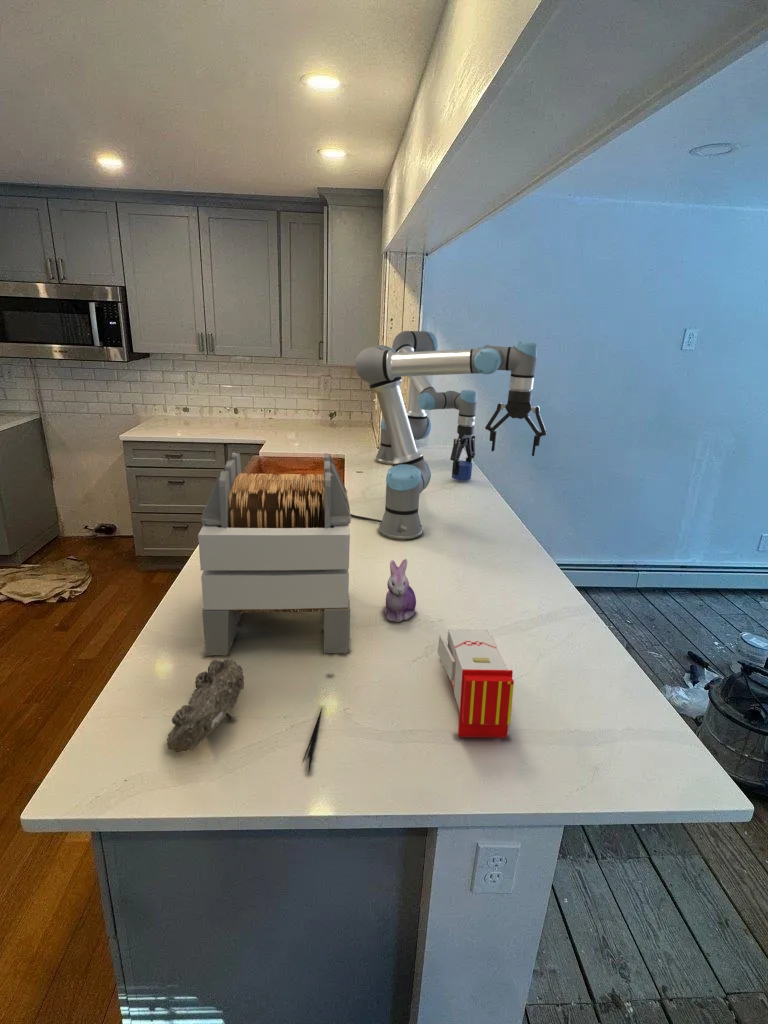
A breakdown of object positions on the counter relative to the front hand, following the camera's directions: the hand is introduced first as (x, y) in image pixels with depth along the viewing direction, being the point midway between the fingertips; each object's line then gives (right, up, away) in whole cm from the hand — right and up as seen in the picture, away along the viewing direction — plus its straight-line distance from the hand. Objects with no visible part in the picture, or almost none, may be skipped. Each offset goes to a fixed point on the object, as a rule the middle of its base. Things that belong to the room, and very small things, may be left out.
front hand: (512, 452), depth 194 cm
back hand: (-8, -2, +70) cm, 71 cm away
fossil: (-77, -59, -86) cm, 130 cm away
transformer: (-70, -47, -51) cm, 99 cm away
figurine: (-40, -47, -47) cm, 78 cm away
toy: (-26, -58, -76) cm, 99 cm away
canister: (-8, -4, +71) cm, 71 cm away
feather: (-57, -60, -86) cm, 119 cm away
